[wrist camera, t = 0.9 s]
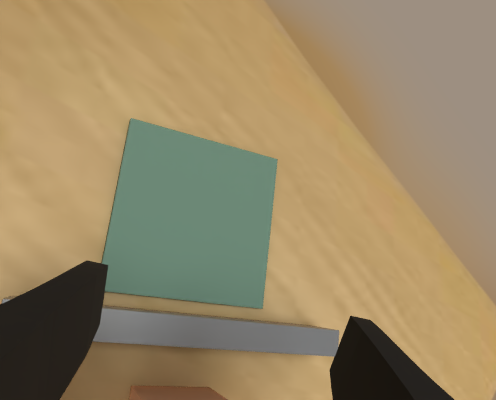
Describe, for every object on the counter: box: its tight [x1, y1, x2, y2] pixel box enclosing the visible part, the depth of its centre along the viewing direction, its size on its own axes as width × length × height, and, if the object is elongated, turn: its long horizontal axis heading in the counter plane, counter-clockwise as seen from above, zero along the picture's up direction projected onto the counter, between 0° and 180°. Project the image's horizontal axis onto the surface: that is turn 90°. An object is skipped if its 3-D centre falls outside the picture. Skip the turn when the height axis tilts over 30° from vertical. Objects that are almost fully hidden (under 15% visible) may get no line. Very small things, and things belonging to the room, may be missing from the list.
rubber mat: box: [101, 118, 277, 309], centre depth 25 cm, size 10×10×1 cm
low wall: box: [2, 296, 339, 357], centre depth 22 cm, size 2×18×3 cm, turn 83°
